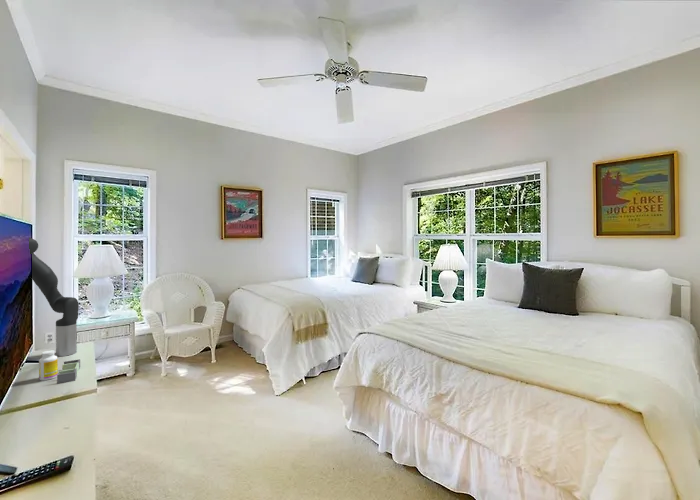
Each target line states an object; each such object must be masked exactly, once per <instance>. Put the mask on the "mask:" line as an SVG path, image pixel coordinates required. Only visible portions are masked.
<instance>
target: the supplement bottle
mask: <svg viewBox="0 0 700 500" xmlns="http://www.w3.org/2000/svg"><path fill="white" fill-rule="evenodd" d="M58 361H59V359H58V356H56V350H54V349H53V350H45V351H42V352H41V357H40V359H39V360H38V379H39V381H49V380H53V379H57V375H58V374H59V368H58V365H59V364H58Z"/></svg>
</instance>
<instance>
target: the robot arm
mask: <svg viewBox="0 0 700 500" xmlns="http://www.w3.org/2000/svg"><path fill="white" fill-rule="evenodd" d="M38 248H39V243H38V241H37V240H36V239H34V238H31V237H29V249H30V254H32V278H31V280H32V281H33V283H34V284H35V286H37V287H38V289H39V290H40V291H41V293H42V295H43V296H44V297H45V299H46V300H47V303H48V304H49V306H50V308H51V309H52V311H54V312H55V313H59V314H62V318H59V319H57V320H56V321H55V356H57V357H65V356H71V355H74V354H77V352H78V351H77V350H78V347H77V346H78V345H77V344H78V343H77V342H78V341H77V340H78V339H77V335H78V334H77V333H78V332H77V329H78V328H77V321H78V319H79V310H80V309H79V307H80V303H79V300H78V299H77V298H76V297H73V296H72V297H68V296H63V295H62V294H61V292H60V291H59V289H58V283H59V280H58V276H57V275H56V274H55V272H54V270H53V269H52V268H51V267H50V266H49V265H48V264H47V263H45V262H44V261H43V260H42V259H40V258H39V257H38V256H37V255H36V254H35V253H36V252H37V250H38Z"/></svg>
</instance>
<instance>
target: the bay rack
mask: <svg viewBox="0 0 700 500" xmlns="http://www.w3.org/2000/svg"><path fill="white" fill-rule="evenodd" d="M61 368H62V370H58V375H57V377H56V381H57V382H56V383H57V384H63V383H68V382H74V381H76V380H77V377H78V374H79V373H80V372H79V371H80V369H81V359H73V360H65V361H63V364H62V365H61Z"/></svg>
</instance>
